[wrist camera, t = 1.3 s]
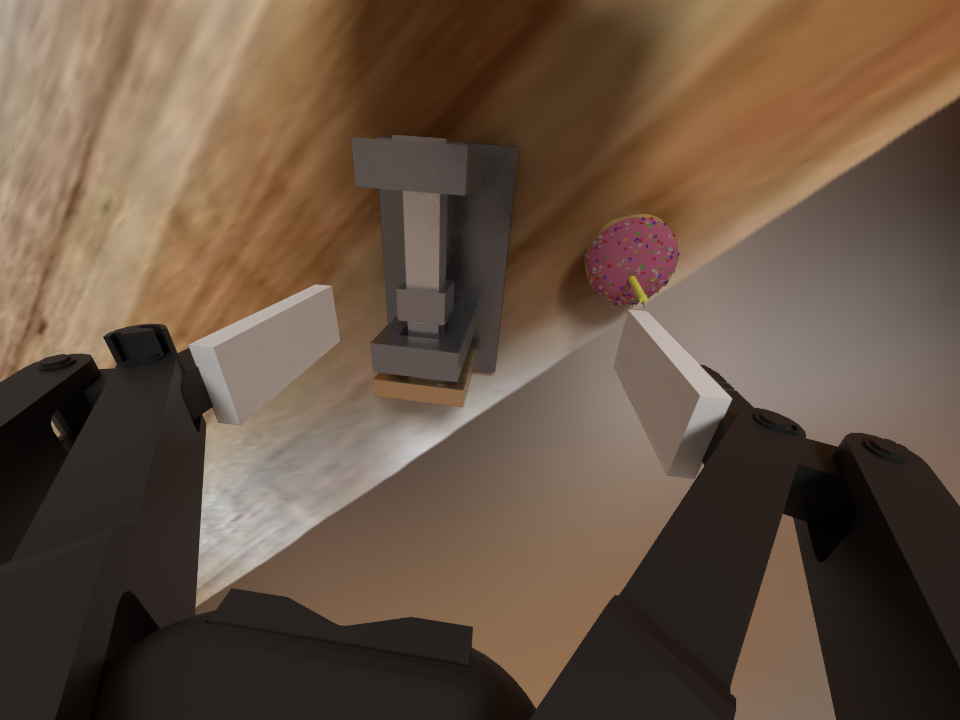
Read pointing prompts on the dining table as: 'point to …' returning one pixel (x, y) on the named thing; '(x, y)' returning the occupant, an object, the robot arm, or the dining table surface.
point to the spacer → (427, 386)
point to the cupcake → (631, 259)
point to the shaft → (425, 260)
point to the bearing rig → (469, 253)
